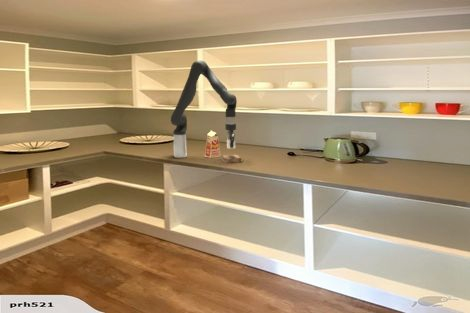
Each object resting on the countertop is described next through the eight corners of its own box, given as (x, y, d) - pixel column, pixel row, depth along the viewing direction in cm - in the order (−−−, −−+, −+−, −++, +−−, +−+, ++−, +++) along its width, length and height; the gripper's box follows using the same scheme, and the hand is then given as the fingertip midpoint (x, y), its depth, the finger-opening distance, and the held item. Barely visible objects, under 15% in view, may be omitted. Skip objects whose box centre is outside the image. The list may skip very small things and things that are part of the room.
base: (224, 162, 266) (224, 158, 265) (221, 159, 277) (221, 155, 277) (241, 161, 268) (241, 157, 268) (237, 158, 280) (237, 154, 279)
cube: (228, 148, 268) (228, 140, 267) (226, 147, 273) (226, 139, 272) (235, 148, 269) (235, 139, 268) (233, 147, 274) (233, 138, 273)
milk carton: (204, 156, 290) (203, 130, 286) (214, 155, 295) (214, 129, 291) (211, 158, 282) (210, 131, 279) (221, 156, 288) (220, 130, 284)
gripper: (223, 122, 274) (223, 145, 277) (227, 124, 260) (227, 148, 263) (233, 122, 275) (233, 145, 278) (238, 124, 261) (238, 148, 265)
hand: (231, 146), depth 271 cm, fingers closed on cube, 5 cm apart
